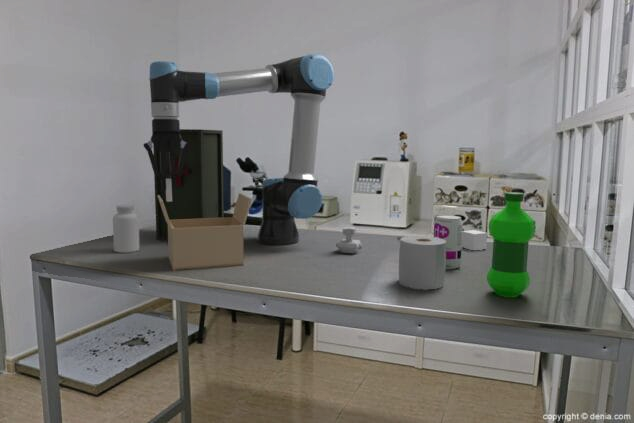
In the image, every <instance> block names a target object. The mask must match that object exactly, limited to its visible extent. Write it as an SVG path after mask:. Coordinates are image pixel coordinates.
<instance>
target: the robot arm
mask: <svg viewBox="0 0 634 423" xmlns="http://www.w3.org/2000/svg"><path fill="white" fill-rule="evenodd" d="M334 77H335V72H334V67H333V66H332V63H330V61H329V59H328V58H327V57H325V56H323V55H322V54H319V53H314V54H313V53H312V54H311V53H309V54H308V53H307V54H305V55H304V56H303V55H301V56H299V57H294V58H290V59H288V60H284V61H281V62H278V63H273V64H268V65H266V66H265V67H264V68H256V69H252V68H251V69H244V70H236V71H235V70H233V71H224V72H223V71H222V72H214V73H213V72H210V73H209V72H200V71H186V70H185V71H183V70H179V68H178V65H177V63H176V62H173V61H172V62H171V61H166V60H165V61H163V60H161V61H160V60H159V61H153V62H151V63H150V65H149V79H148V80H149V90H150V91H149V92H150V110H151V114H150V115H151V117H152V118H153V119H152V120H151V129H152V130H151V132H152V134H151V137H150V140H148V141H147V142H145V143H143V144H142V145H143V146H142V147H143V148H144V149H145V151H146V152H147V154H148V157H149V161H150V164H151V168H152V170H153V175H155V176H156V177H159V178H161V184H162V189H163V190H166V201H167V202H170V201H172V190H173V189H175V188H176V184H175V179H176V177H179V176H181V175H182V170H183V165H184V161H185V156H186V151H187V150H188V148H189V146H190V144H189V143H186V142H184V141H183V140H182V137H181V136H180V129H181V128H180V120H179V119H178V118H179V117H180V106H179V104H180V103H184V102H188V101H195V100H214V99H216V98H219V97H227V96H236V95H245V94H252V93H259V92H260V93H261V92H268V93H270V94H277V93H285V94H289V93H290V97H292V99H293V100H294V105H293V106H294V108H293V117H292V130H291V139H290V152H289V163H288V172H287V173H286V174H285V175H284V176H283V177H274V178H266V179H264V180H263V181H262V186H261V187H262V188H261V191H262V192H261V193H262V194H261V196H262V200H261V201H262V203H261V204H262V206H261V207H262V211H261V212H262V220H261V224H260V227H259V230H258V233H257V243H260V244H263V245H265V244H266V245H273V246H275V245H276V246H278V245H280V246H281V245H283V246H284V245H292V244H296V243H299V242H300V234H299V231H298V227H297V224H296V221H295V219H303V220H307V219H310V218H312V217H314V216H315V215H316V214H317V213H319V211H320V209H321V207H322V205H323V195H322V192H321V190H320V189H319V188H318V181H319V180H318V178H317V177H316V176H315V164H316V154H317V143H318V142H317V141H318V132H319V131H318V130H319V120H320V111H321V110H320V109H321V103H322V102H323V101H325V99H326V94H327V93H326V92H327V89H329V88H330V87H331V86H332V84H333V82H334V79H335V78H334ZM179 102H180V103H179ZM180 143H181V148H182V150H181V154H180V159H179V164H178V169H177V172H176V173H175V158H174V151H175V150H176V148H177V147H178V146H179V144H180ZM153 144H154V145H155V146H156V148H157V149H158V150H159V151H160V165H161V173H159V172H158V168H157V165H156V162H155V158H154V151H153V150H152V149H153ZM165 151H169V159H170V177H171V178H166V166H165Z"/></svg>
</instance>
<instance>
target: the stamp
mask: <svg viewBox="0 0 634 423" xmlns="http://www.w3.org/2000/svg"><path fill="white" fill-rule="evenodd" d="M356 233H357V227H354V226H345V227H343V228H342V235H343V236H345V237H346V238H342V239H341V240H340V241H339V242H337V243H336V244H335V247H336V248H338V250H339V251H340V252H341V253H343V254H349V255H350V254H355V253H357V251H358V250H362V249H363V247H364V246H363V244H362V243H361V240H360V239H353V236H354V235H355V234H356Z"/></svg>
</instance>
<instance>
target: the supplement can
mask: <svg viewBox="0 0 634 423" xmlns="http://www.w3.org/2000/svg"><path fill="white" fill-rule="evenodd" d="M462 220H463V219H462V217H461V216H459V215H458V216H457V215H452V214H441V215H440V214H438V215H436V218H435V219H434V221H433V237H436V238H441V239H444V240H445V241H446V268H445V270H456V268H457V269H459V267H461V265H462V264H461V262H462V249H463V248H462V231H464V230H463V228H464V227H463V226H464V223H463V222H464V221H462Z"/></svg>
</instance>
